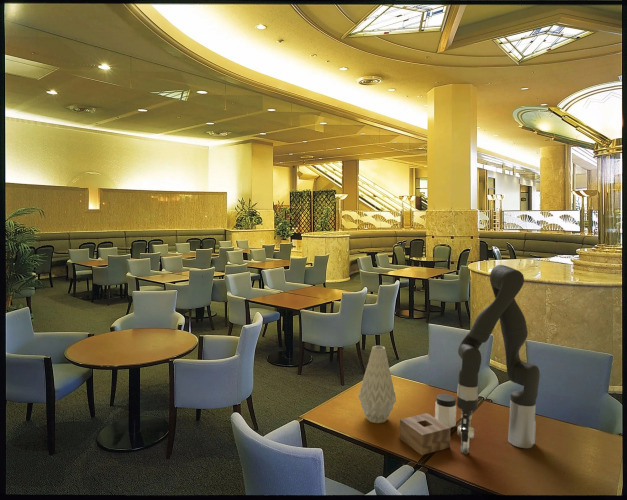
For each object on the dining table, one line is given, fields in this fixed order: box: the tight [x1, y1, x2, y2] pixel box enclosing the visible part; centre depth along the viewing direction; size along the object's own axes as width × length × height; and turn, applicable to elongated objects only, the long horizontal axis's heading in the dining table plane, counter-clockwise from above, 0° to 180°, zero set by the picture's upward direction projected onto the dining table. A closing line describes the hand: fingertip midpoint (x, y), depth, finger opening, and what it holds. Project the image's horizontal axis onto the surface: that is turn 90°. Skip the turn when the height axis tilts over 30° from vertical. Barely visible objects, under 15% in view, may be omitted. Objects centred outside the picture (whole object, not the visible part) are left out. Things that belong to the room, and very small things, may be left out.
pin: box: [456, 424, 475, 455], centre depth 171 cm, size 6×6×10 cm
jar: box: [434, 393, 457, 429], centre depth 194 cm, size 9×8×12 cm
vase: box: [358, 345, 397, 424], centre depth 197 cm, size 17×17×33 cm
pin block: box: [399, 412, 452, 456], centre depth 178 cm, size 14×14×8 cm
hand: (465, 437), depth 171 cm, fingers closed on pin, 6 cm apart
